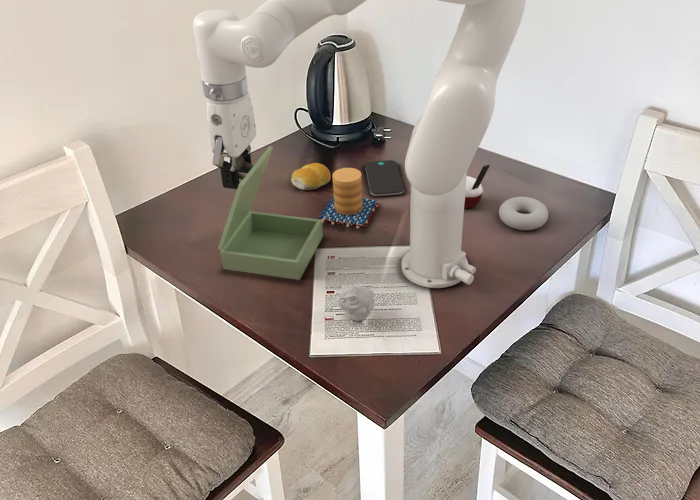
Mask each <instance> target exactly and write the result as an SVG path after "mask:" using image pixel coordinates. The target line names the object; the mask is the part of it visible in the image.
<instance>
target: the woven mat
mask: <svg viewBox="0 0 700 500" xmlns="http://www.w3.org/2000/svg"><path fill="white" fill-rule="evenodd" d="M362 201H363V208H362V210H361V211H360V212H358V213H356V214H353V215H343V214H340V213H338V212H336V210H335V206H334V195H332V196H331V199H329V203H327V204H326V207H324V210H323V211H321V215H318V217H319V220H322V224H324V223H331V225H335V223H336V224H337V225H342V226H345V227H347V228H349V227H353V226H354V227H356V229H359V228H367V226H368V225H370V221H371V220H372V218H373V215H374V214H375V213H376V211H377V208H378V207H379V204H380V203H379V202H378V200H377V199H375V200H374V199H371V198H370V199H369V198H365V197H362Z"/></svg>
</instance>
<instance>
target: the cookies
mask: <svg viewBox="0 0 700 500" xmlns="http://www.w3.org/2000/svg"><path fill="white" fill-rule="evenodd" d="M331 175H332V176H331V177H332V189H333V196H334V206H335V210H336V212H338V213H340V214H343V215H353V214H356V213H358V212H360V211H361V210H362V208H363V201H362V199H363V178H362V177H363V176H362V172H361V171H360V170H359V169H358V168H354V167H342V168H339V169H337V170H335V171H334V172H332V174H331Z"/></svg>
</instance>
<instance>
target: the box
mask: <svg viewBox="0 0 700 500" xmlns="http://www.w3.org/2000/svg"><path fill="white" fill-rule="evenodd" d="M323 237H324V231H323V223H322V219H321V220H320V218H318V219H317V218H311V217H304V216H303V217H302V216H293V215H285V214H277V213H268V212H260V211H252V210H251V211H250V212H249V214H248V215H247V216H246V218H245V219H244V221H243V222H242V223H241V225H240V226H239V227H238V229H237V230H236V232H235V233H234V234H233V236H232V237H231V239H230V240H229V241H228V243H227V244H226V245H225V247H224V248H223V250H222V251H221V250H220V252H219V253H220V257H221V258H220V259H221V262H222V268H223V270H229V271H235V272H243V273H249V274H257V275H263V276H269V277H277V278H284V279H290V280H297V281H300V280H301V279H302V277H303V275H304V273H305V271H306V269H307V267H308V266H309V263H310V261H311V260H312V258H313V256H314V254H315V252H316V250H317V248H318V247H319V244H320V243H321V241H322V239H323Z"/></svg>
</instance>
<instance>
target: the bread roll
mask: <svg viewBox="0 0 700 500" xmlns="http://www.w3.org/2000/svg"><path fill="white" fill-rule="evenodd" d="M331 175H332V174H331V171H330V170H329V168H328V166H325V165H324V164H323V163H319V162H312V163H309V164H305V165H303V166H302V167H301V168H298V169H295V170H294V171H293V173H292V175H291V178H290V181H291V183H292V185H293V186H294V187H296V188H297V189H300V190H302V191H314V190H317V189H319V188H321V187H323V186H326V185H327V184H328V183H329V182H330V181H331V178H332V176H331Z"/></svg>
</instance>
